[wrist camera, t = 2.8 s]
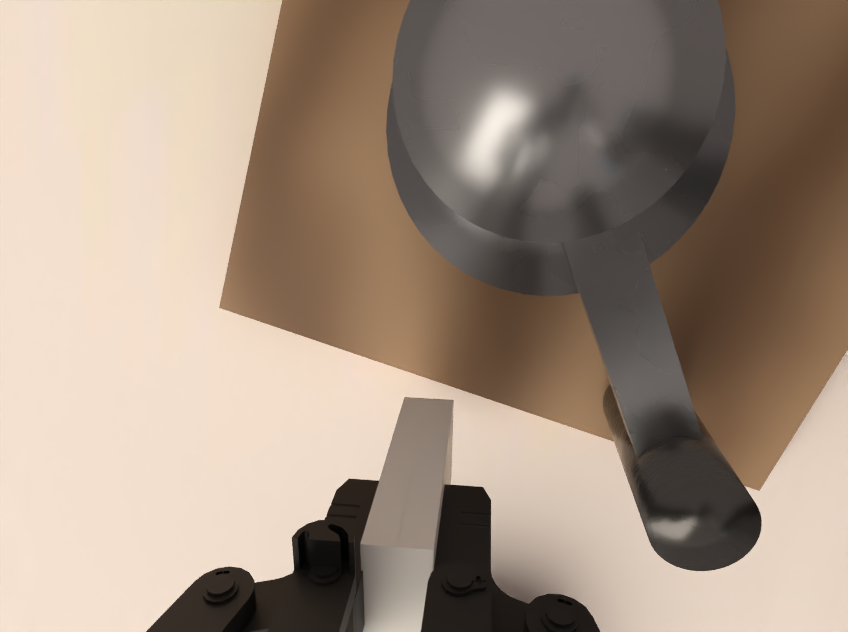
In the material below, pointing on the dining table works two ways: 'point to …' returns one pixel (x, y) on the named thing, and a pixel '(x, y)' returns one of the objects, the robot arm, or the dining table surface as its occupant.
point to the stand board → (564, 315)
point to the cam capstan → (583, 204)
